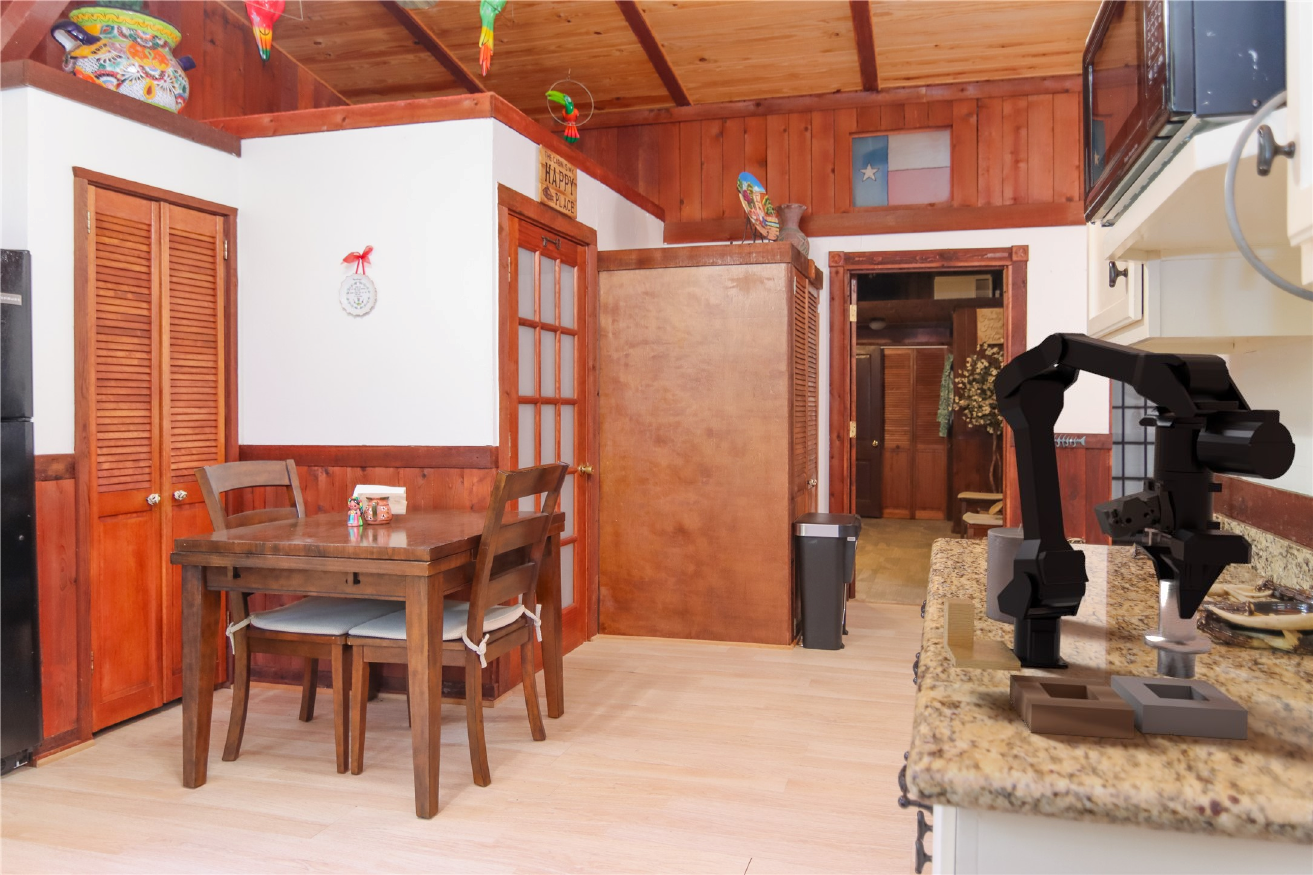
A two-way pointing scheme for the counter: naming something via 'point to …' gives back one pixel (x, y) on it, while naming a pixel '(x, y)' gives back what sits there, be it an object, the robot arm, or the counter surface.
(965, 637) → the brass key
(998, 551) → the pillar candle
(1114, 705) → the walnut socket block
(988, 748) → the counter surface
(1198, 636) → the steel pin
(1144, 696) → the grey square collar
